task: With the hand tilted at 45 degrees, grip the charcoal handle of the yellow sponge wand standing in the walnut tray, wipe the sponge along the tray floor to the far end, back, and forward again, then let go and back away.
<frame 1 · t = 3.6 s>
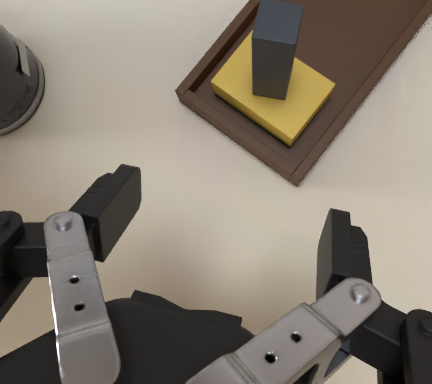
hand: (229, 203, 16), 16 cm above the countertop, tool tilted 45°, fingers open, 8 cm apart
sponge: (270, 96, 33), point 1 cm above the countertop, touching tray
tray: (309, 50, 34), on the countertop
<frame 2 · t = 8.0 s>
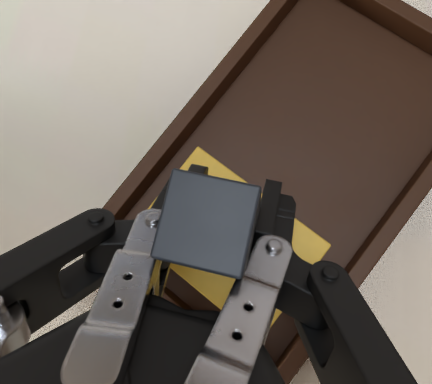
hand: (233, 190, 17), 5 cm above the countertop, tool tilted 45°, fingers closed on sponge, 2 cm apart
sponge: (230, 241, 21), point 1 cm above the countertop, touching gripper, tray
tray: (290, 164, 22), on the countertop
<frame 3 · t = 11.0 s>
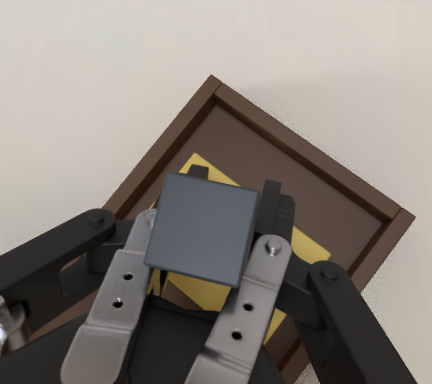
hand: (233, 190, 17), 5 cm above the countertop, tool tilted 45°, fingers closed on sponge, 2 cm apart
sponge: (227, 250, 20), point 1 cm above the countertop, touching gripper
tray: (187, 300, 21), on the countertop
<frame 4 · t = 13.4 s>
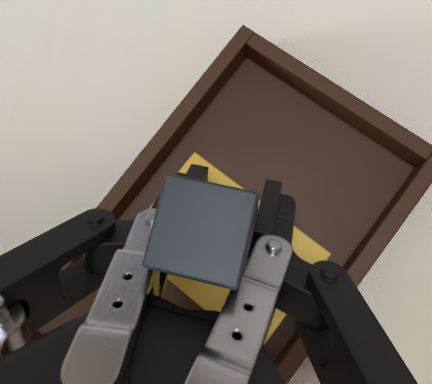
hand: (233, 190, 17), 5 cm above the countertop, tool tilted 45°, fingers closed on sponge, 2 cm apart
sponge: (227, 249, 20), point 1 cm above the countertop, touching gripper
tray: (222, 248, 21), on the countertop
when the fingers open (5 cm above the countertop, at t = 14.5 s): sponge stays where it is, resting on tray.
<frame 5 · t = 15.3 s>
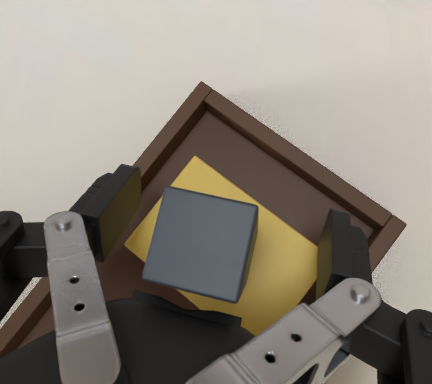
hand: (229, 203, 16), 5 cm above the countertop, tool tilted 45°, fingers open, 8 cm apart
sponge: (228, 252, 20), point 1 cm above the countertop, touching tray
tray: (179, 308, 21), on the countertop
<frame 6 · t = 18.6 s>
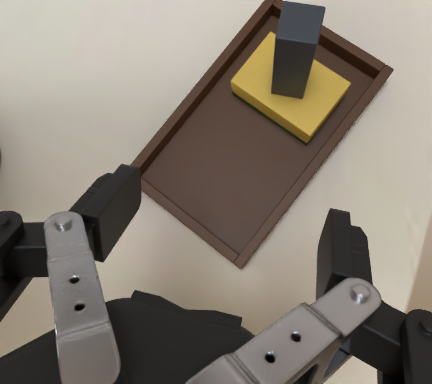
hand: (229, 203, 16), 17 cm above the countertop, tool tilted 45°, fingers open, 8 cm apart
sponge: (287, 95, 34), point 1 cm above the countertop, touching tray
tray: (256, 130, 34), on the countertop
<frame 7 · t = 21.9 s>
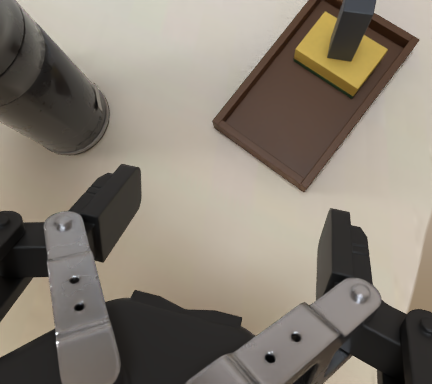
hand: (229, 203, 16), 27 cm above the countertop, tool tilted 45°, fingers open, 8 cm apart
sponge: (336, 61, 44), point 1 cm above the countertop, touching tray
tray: (312, 89, 45), on the countertop
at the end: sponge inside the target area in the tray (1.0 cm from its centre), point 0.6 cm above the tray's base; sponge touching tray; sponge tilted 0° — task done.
